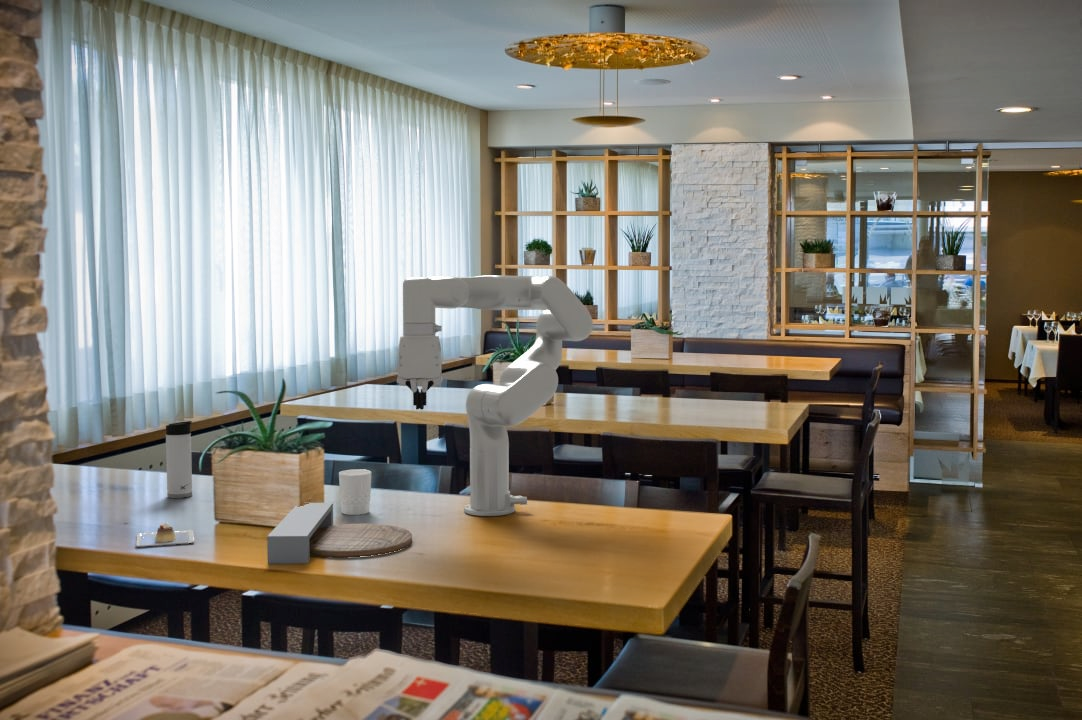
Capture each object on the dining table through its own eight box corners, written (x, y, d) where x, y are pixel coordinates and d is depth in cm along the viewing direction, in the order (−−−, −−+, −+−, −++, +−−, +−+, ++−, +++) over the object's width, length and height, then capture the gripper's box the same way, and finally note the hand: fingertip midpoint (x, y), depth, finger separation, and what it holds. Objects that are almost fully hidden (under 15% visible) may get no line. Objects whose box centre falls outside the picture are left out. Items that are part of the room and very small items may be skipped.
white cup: (368, 515, 267) (368, 475, 267) (336, 515, 268) (335, 475, 267) (374, 509, 275) (373, 469, 275) (342, 508, 275) (342, 469, 275)
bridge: (333, 526, 256) (333, 502, 256) (307, 563, 223) (306, 536, 223) (298, 526, 256) (298, 502, 255) (267, 563, 223) (267, 536, 222)
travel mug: (189, 498, 288) (187, 422, 286) (163, 498, 288) (161, 422, 286) (196, 494, 294) (195, 419, 293) (172, 494, 294) (170, 419, 293)
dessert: (137, 538, 247) (136, 517, 246) (193, 534, 250) (192, 513, 250) (136, 550, 235) (135, 528, 235) (194, 546, 239) (194, 524, 239)
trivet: (315, 530, 253) (315, 522, 253) (422, 533, 251) (422, 525, 251) (279, 558, 229) (279, 549, 228) (397, 561, 226) (397, 552, 226)
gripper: (452, 329, 261) (452, 406, 262) (388, 329, 260) (389, 407, 261) (450, 331, 253) (451, 410, 254) (385, 331, 253) (386, 410, 254)
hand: (419, 408), depth 258 cm, fingers closed
